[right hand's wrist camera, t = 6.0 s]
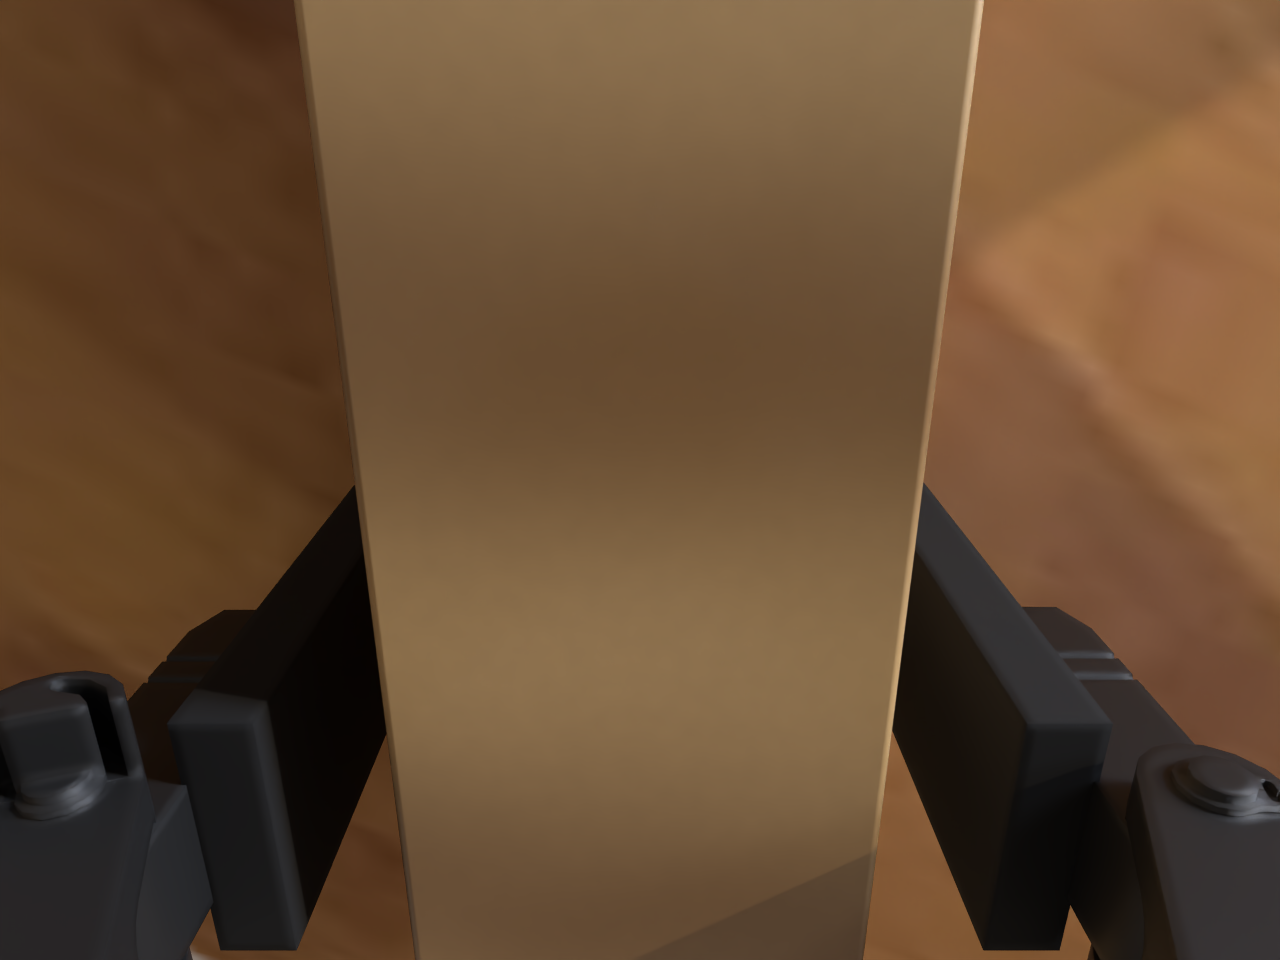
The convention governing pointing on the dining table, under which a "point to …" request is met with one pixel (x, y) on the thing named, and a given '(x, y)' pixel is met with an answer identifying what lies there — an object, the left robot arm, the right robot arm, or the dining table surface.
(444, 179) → the post
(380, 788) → the dining table surface
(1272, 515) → the dining table surface
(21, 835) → the right robot arm
